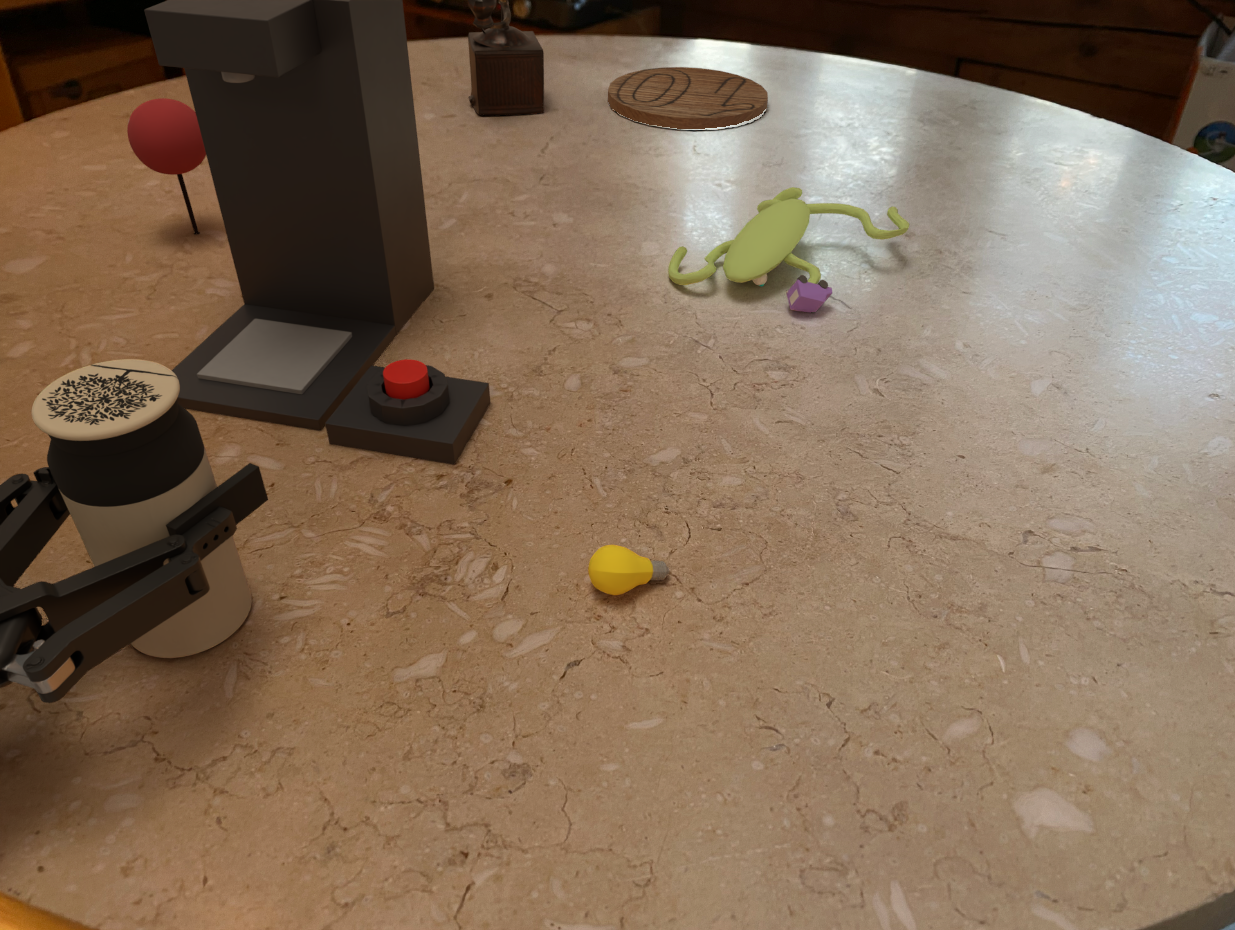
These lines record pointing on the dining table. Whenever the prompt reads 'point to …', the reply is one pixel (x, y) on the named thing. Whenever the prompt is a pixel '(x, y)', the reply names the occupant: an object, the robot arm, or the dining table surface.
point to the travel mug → (139, 484)
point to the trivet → (687, 97)
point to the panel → (410, 417)
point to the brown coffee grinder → (504, 64)
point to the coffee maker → (303, 195)
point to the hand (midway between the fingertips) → (208, 460)
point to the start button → (406, 379)
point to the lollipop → (167, 140)
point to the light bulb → (622, 569)
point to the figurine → (780, 247)
